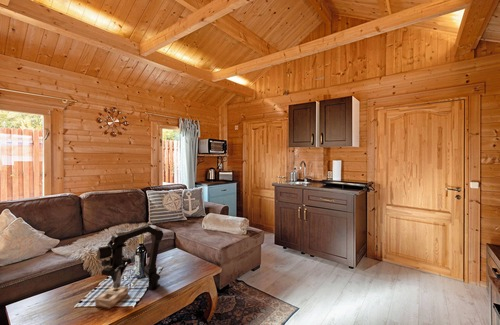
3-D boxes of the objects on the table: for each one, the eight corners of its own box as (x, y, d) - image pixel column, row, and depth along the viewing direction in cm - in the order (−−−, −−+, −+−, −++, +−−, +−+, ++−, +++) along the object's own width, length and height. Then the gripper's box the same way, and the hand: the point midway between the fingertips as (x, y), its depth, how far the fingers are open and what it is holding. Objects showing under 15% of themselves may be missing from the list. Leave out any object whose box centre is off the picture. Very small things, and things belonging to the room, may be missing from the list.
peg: (116, 284, 151) (116, 268, 151) (122, 285, 151) (122, 269, 150) (111, 287, 147) (111, 271, 147) (117, 288, 147) (117, 272, 146)
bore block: (114, 292, 159) (114, 285, 159) (127, 294, 157) (127, 287, 157) (95, 306, 144) (95, 299, 144) (109, 308, 142) (109, 301, 142)
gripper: (116, 247, 159) (116, 271, 160) (93, 259, 141) (93, 286, 141) (132, 249, 157) (131, 273, 157) (110, 261, 139) (109, 288, 139)
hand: (116, 279), depth 149 cm, fingers closed on peg, 4 cm apart
